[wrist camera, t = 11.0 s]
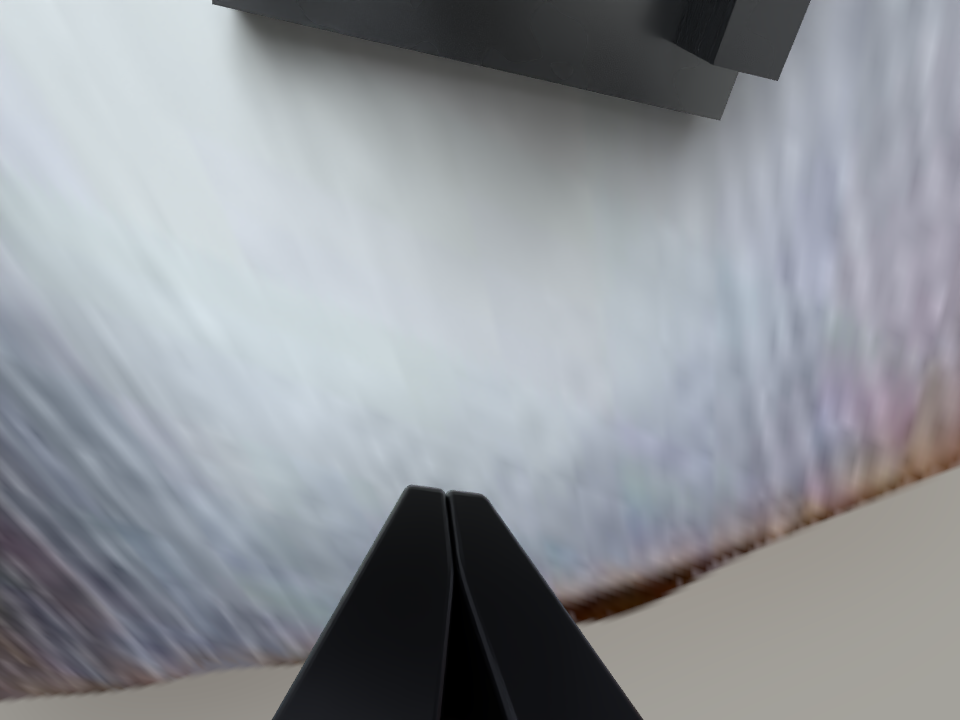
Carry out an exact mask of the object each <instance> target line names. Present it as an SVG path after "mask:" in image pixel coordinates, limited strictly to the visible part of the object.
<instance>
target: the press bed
mask: <svg viewBox="0 0 960 720" xmlns="http://www.w3.org/2000/svg"><path fill="white" fill-rule="evenodd" d="M810 1H811V0H212V4H214V5H219V6H223V7H227V8H232V9H236V10H240V11H245V12H249V13H254V14H258V15H262V16H267V17H271V18H275V19H280V20H284V21H288V22H293V23H297V24H301V25H306V26H310V27H315V28H319V29H323V30H328V31H332V32H336V33H341V34H345V35H349V36H354V37H358V38H362V39H367V40H371V41H376V42H380V43H384V44H389V45H393V46H397V47H402V48H406V49H410V50H415V51H419V52H424V53H428V54H432V55H437V56H441V57H445V58H450V59H454V60H458V61H463V62H467V63H471V64H476V65H480V66H485V67H489V68H493V69H498V70H502V71H506V72H511V73H515V74H519V75H524V76H528V77H532V78H537V79H541V80H546V81H550V82H554V83H559V84H563V85H567V86H572V87H576V88H580V89H585V90H589V91H593V92H598V93H602V94H607V95H611V96H615V97H620V98H624V99H628V100H633V101H637V102H641V103H646V104H650V105H655V106H659V107H663V108H668V109H672V110H676V111H681V112H685V113H689V114H694V115H698V116H702V117H707V118H711V119H716V120H720V119H721V117H722V114H723V112H724V109H725V106H726V104H727V101H728V98H729V96H730V93H731V90H732V88H733V85H734V83H735V80H736V77H737V75H738V72H743V73H747V74H752V75H756V76H760V77H764V78H768V79H772V80H776V81H778V79H779V77H780V74H781V72H782V69H783V67H784V64H785V62H786V59H787V57H788V54H789V52H790V50H791V47H792V45H793V42H794V40H795V37H796V35H797V32H798V30H799V28H800V25H801V23H802V20H803V18H804V15H805V13H806V10H807V8H808V5H809V3H810Z"/></svg>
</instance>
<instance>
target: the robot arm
mask: <svg viewBox="0 0 960 720" xmlns="http://www.w3.org/2000/svg"><path fill="white" fill-rule="evenodd" d="M272 720H643V719H642V717H641V716H640V714H639V713H638V712H637V710H636V709H635V707H633V705H632V703H631V702H630V701H629V699H628V697H627V696H626V695H625V693H624V692H623V690H622V689H621V687H620V686H619V685H618V683H617V682H616V680H615V679H614V678H613V676H612V675H611V673H610V672H609V671H608V669H607V668H606V666H605V665H604V664H603V662H602V661H601V659H600V658H599V656H598V655H597V654H596V652H595V651H594V649H593V648H592V647H591V645H590V643H589V642H588V641H587V639H586V638H585V636H584V635H583V634H582V632H581V631H580V629H579V628H578V626H577V625H576V624H575V622H574V621H573V619H572V618H571V616H570V615H569V614H568V612H567V611H566V609H565V608H564V607H563V605H562V604H561V602H560V601H559V599H558V598H557V597H556V595H555V594H554V592H553V591H552V589H551V588H550V587H549V585H548V584H547V582H546V581H545V580H544V578H543V577H542V575H541V574H540V572H539V571H538V570H537V568H536V567H535V565H534V564H533V562H532V561H531V560H530V558H529V557H528V555H527V554H526V553H525V551H524V550H523V548H522V547H521V545H520V544H519V543H518V541H517V540H516V538H515V537H514V536H513V534H512V533H511V531H510V530H509V528H508V527H507V526H506V524H505V523H504V521H503V520H502V518H501V517H500V516H499V514H498V513H497V511H496V510H495V509H494V507H493V506H492V504H491V503H490V501H489V500H488V499H487V498H486V497H485V496H484V495H482V494H479V493H472V492H464V491H456V490H450V491H448V492H447V493H446V494H445V492H444V491H443V490H442V489H439V488H433V487H425V486H417V485H409V486H407V487H406V488H405V489H404V491H403V493H402V494H401V496H400V498H399V500H398V501H397V503H396V505H395V507H394V508H393V510H392V512H391V513H390V515H389V517H388V519H387V520H386V522H385V524H384V526H383V527H382V529H381V531H380V533H379V534H378V536H377V538H376V540H375V541H374V543H373V545H372V547H371V548H370V550H369V552H368V554H367V555H366V557H365V559H364V560H363V562H362V564H361V566H360V567H359V569H358V571H357V573H356V574H355V576H354V578H353V580H352V581H351V583H350V585H349V587H348V588H347V590H346V592H345V594H344V595H343V597H342V599H341V600H340V602H339V604H338V606H337V607H336V609H335V611H334V613H333V614H332V616H331V618H330V620H329V621H328V623H327V625H326V627H325V628H324V630H323V632H322V634H321V635H320V637H319V639H318V641H317V642H316V644H315V646H314V647H313V649H312V651H311V653H310V654H309V656H308V658H307V660H306V661H305V663H304V665H303V667H302V668H301V670H300V672H299V674H298V675H297V677H296V679H295V681H294V682H293V684H292V686H291V688H290V689H289V691H288V693H287V695H286V696H285V698H284V700H283V701H282V703H281V705H280V707H279V709H278V710H277V712H276V714H275V716H274V717H273V719H272Z"/></svg>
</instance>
